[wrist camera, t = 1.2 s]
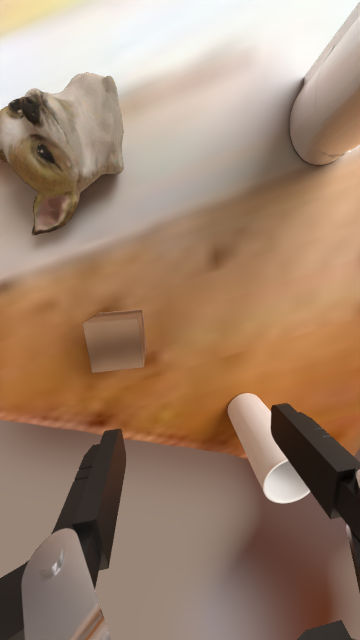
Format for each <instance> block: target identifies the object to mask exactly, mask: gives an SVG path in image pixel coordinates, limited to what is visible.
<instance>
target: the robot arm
mask: <svg viewBox="0 0 360 640" xmlns="http://www.w3.org/2000/svg"><path fill="white" fill-rule="evenodd" d="M290 136H291V140H292V143H293V146H294V148H295V150H296V152H297V153H298V154H299V156H300V157H301V158H302V159H304V160H305V161H306V162H308V163H311V164H314V165H324V164H328V163H330V162H333V161H334V160H336V159H338V158H339V157H341V156H342V155H344V154H346V153H348V152H349V151H351V150H352V149H353V148H355V147H356V146H358V145H359V144H360V2H359V3H358V5H357V6H356V7H355V9H354V10H353V11H352V13H351V14H350V15H349V17H348V18H347V20H346V21H345V22H344V24H343V25H342V26H341V28H340V29H339V30H338V32H337V33H336V34H335V36H334V37H333V39H332V40H331V41H330V43H329V44H328V45H327V47H326V48H325V49H324V51H323V52H322V53H321V55H320V56H319V58H318V59H317V60H316V62H315V63H314V64H313V66H312V67H311V68H310V70H309V71H308V72H307V74H306V75H305V79H304V86H303V88H302V90H301V91H300V93H299V95H298V96H297V98H296V100H295V102H294V105H293V107H292V111H291V116H290ZM271 434H272V437H273V439H274V441H275V443H276V444H277V445H278V447H279V448H280V450H281V451H282V452H283V454H284V455H285V457H286V458H287V459H288V461H289V462H290V464H291V465H292V466H293V468H294V469H295V470H296V472H297V473H298V475H299V476H300V477H301V479H302V480H303V482H304V483H305V484H306V486H307V487H308V489H309V490H310V491H311V493H312V494H313V496H314V497H315V498H316V500H317V501H318V503H319V504H320V505H321V507H322V508H323V509H324V511H325V512H326V514H327V515H328V516H329V518H330V519H334V518H338V517H342V518H343V519H344V521H345V522H346V523H347V535H348V539H349V544H350V549H351V554H352V559H353V564H354V569H355V573H356V578H357V583H358V588H359V593H360V462H359V461H358V460H357V459H356V458H355V457H353V456H352V455H351V454H350V453H349V452H348V451H347V450H346V449H345V448H344V447H342V446H341V445H340V444H339V443H338V442H337V441H336V440H335V439H334V438H333V437H330V435H329V434H328V433H327V432H326V431H325V430H324V429H322V428H321V427H320V426H319V425H318V424H317V423H316V422H315V421H314V420H313V419H312V418H310V417H308V416H306V415H305V414H303V413H301V412H297V411H296V410H295V409H294V408H292V407H291V406H290V405H289V404H288V403H284V404H277V405H273V406H272V408H271ZM125 467H126V452H125V446H124V441H123V435H122V430H121V429H114V430H108V431H105V432H104V434H103V436H102V439H101V442H100V444H97V445H93V446H92V447H91V448H90V449H89V451H88V452H87V453H86V454H85V456H84V458H83V460H82V463H81V465H80V467H79V471H78V472H77V475H76V477H75V481H74V482H73V484H72V487H71V489H70V492H69V494H68V497H67V499H66V502H65V504H64V506H63V509H62V511H61V514H60V516H59V518H58V521H57V523H56V525H55V528H54V530H53V532H52V534H51V535H50V536H49V537H48V538H46V539H45V540H44V541H43V542H42V543H41V544H40V545H39V547H38V548H37V549H36V550H35V552H34V553H33V555H32V556H31V558H30V560H29V561H27V562H26V563H25V564H24V565H22V566H20V567H19V568H17V569H15V570H14V571H12V572H10V573H8V574H7V575H5V576H3V577H2V578H0V640H111V638H110V635H109V632H108V629H107V626H106V623H105V619H104V616H103V614H102V611H101V608H100V605H99V602H98V599H97V595H96V592H95V587H96V582H97V577H98V572H99V570H103V569H108V568H109V562H110V556H111V550H112V545H113V539H114V533H115V527H116V520H117V515H118V509H119V503H120V497H121V491H122V485H123V479H124V474H125ZM297 640H355V639H352V638H351V637H350V635H349V633H348V632H347V630H346V628H345V626H344V624H343V622H342V621H341V620H340V621H336V622H333V623H330V624H326V625H323V626H319V627H316V628H312V629H309V630H306V631H305V632H304V633H303V634H302V635H301V636H300V637H299V638H298V639H297Z"/></svg>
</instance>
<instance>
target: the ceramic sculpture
mask: <svg viewBox="0 0 360 640" xmlns="http://www.w3.org/2000/svg"><path fill="white" fill-rule="evenodd" d="M123 133H124V131H123V123H122V116H121V111H120V106H119V101H118V95H117V88H116V85H115V82H114V80H113V78H112V77H111V76H107V77H103V76H99V75H96V74H92V73H87V72H86V73H84V74H78V75H76V76H75V77H74V78H72V80H71V81H70V83H69V84H68V85H67V87H66V88H65V89H64V90H63V91H62V92H60V93H57V94H49V93H44V92H42V91H40V90H39V89H31V90H29V91H28V92H27V93H26V95H25V97H21V98H20V99H16V100H13V101H12V102H10V103H9V105H8V106H7V107H5V108H3V109H1V111H0V159H1V160H3V161H5V162H8V163H9V164H10V165H11V167H12V168H13V169H14V171H15V172H16V173H17V174H18V175H19V176H20V177H21V178H22V179H23V180H24V181H25V182H26V183H27V184H28V185H30V186H31V187H32V188H34V189H35V190H36V191H37V192H38V195H37V196H36V198H35V201H34V205H33V212H34V227H33V230H32V235H38V234H41V233H46V232H51V231H54V230H56V229H58V228H60V227H62V226H64V225H65V224H66V223H67V222H68V221H69V220H70V219H71V218H72V216H73V213H74V212H75V210H76V208H77V206H78V203H79V198H80V193H81V192H82V191H83V190H85V189H86V188H87V187H88V186H89V185H90V184H91V183H93V182H94V181H95V180H96V179H98V178H99V177H100V176H101V175H103V174H119V173H121V172H122V171H123V168H124V165H123V159H122V147H121V146H122V139H123Z"/></svg>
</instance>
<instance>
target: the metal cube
mask: <svg viewBox="0 0 360 640" xmlns="http://www.w3.org/2000/svg"><path fill="white" fill-rule="evenodd" d="M83 328H84V334H85V339H86V344H87V349H88V354H89V359H90V364H91V369H92V373H95V372H104V371H114V370H123V369H132V368H142V367H144V363H145V357H146V351H147V345H146V336H145V327H144V318H143V310H130V311H117V312H105V313H98V314H97V315H95V316H94V317H92V318H91V319H89V320H87V321H86V322H84V323H83Z"/></svg>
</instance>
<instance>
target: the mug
mask: <svg viewBox="0 0 360 640" xmlns="http://www.w3.org/2000/svg"><path fill="white" fill-rule="evenodd" d="M228 416H229V418H230V420H231V422H232V425H233V427H234V429H235V431H236V433H237V435H238V438H239V440H240V442H241V444H242V446H243V448H244V451H245V453H246V455H247V457H248V459H249V461H250V464H251V466H252V468H253V470H254V472H255V474H256V477H257V479H258V481H259V483H260V485H261V487H262V489H263V491H264V494H265V495H266V497H267V498H268V499H270V500H271V501H273V502H276V503H290V502H294V501H296V500H299V499H301V498H303V497H304V496H306V495H307V494H308V493H309V492H310V490H309V489H308V487H307V486H306V484H305V483H304V482H303V480H302V479H301V477H300V476H299V475H298V473H297V472H296V470H295V469H294V468H293V466H292V465H291V464H290V462H289V461H288V459H287V458H286V457H285V455H284V454H283V452H282V451H281V450H280V448H279V447H278V445H277V444H276V443H275V441H274V439H273V437H272V434H271V411H270V410H269V409H268V408H267V407H266V406H265V405H264V403H263V402H262V401H261V400H260V399H259V398H258V397H257V396H256V395H254V394H251V393H244V394H240V395H238V396H236V397H235V398H234V399H233V400H232V401H231V402H230V404H229V406H228Z"/></svg>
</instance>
